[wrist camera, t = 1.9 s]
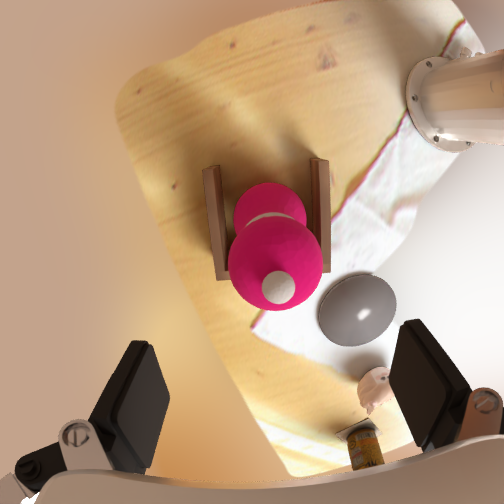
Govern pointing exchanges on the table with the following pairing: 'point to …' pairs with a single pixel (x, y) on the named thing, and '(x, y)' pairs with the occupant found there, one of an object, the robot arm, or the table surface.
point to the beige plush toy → (374, 388)
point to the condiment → (363, 445)
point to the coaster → (357, 310)
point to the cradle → (218, 223)
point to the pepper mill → (273, 249)
